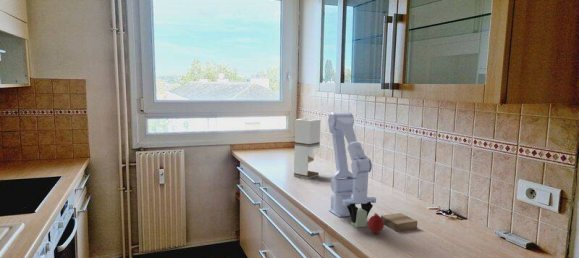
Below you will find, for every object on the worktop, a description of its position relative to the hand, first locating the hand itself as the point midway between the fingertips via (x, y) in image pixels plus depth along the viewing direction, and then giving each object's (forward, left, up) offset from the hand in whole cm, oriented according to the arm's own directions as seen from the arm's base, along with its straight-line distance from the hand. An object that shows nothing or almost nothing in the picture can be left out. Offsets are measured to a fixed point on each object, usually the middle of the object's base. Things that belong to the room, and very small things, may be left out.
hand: (358, 221), depth 151 cm
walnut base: (+6, +15, -1) cm, 16 cm away
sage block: (0, 0, -1) cm, 1 cm away
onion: (+10, +1, -2) cm, 10 cm away
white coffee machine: (-82, +16, -2) cm, 84 cm away
